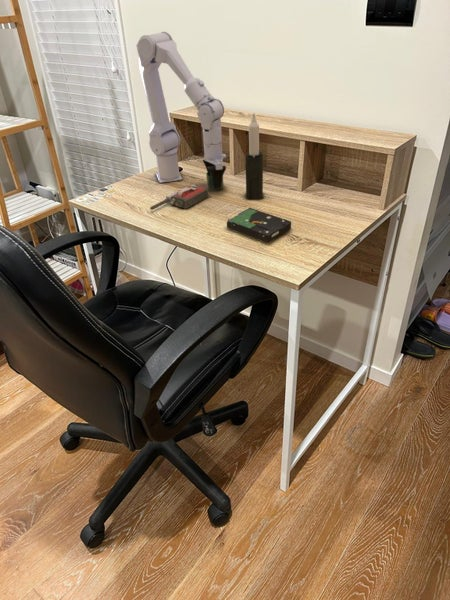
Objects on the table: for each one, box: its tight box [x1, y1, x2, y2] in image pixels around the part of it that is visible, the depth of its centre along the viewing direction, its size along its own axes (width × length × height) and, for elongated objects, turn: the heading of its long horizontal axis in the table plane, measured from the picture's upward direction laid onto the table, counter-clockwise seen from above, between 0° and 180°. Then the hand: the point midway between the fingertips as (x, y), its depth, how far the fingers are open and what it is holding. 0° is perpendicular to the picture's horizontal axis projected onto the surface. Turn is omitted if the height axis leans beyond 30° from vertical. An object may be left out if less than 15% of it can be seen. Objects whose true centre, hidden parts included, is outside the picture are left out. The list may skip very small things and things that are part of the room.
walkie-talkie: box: [149, 183, 209, 211], centre depth 140 cm, size 9×4×20 cm
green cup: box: [205, 171, 225, 192], centre depth 148 cm, size 5×5×5 cm
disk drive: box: [226, 207, 292, 244], centre depth 124 cm, size 10×3×15 cm
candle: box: [244, 112, 264, 200], centre depth 136 cm, size 5×5×25 cm
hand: (215, 184), depth 149 cm, fingers closed on green cup, 5 cm apart
